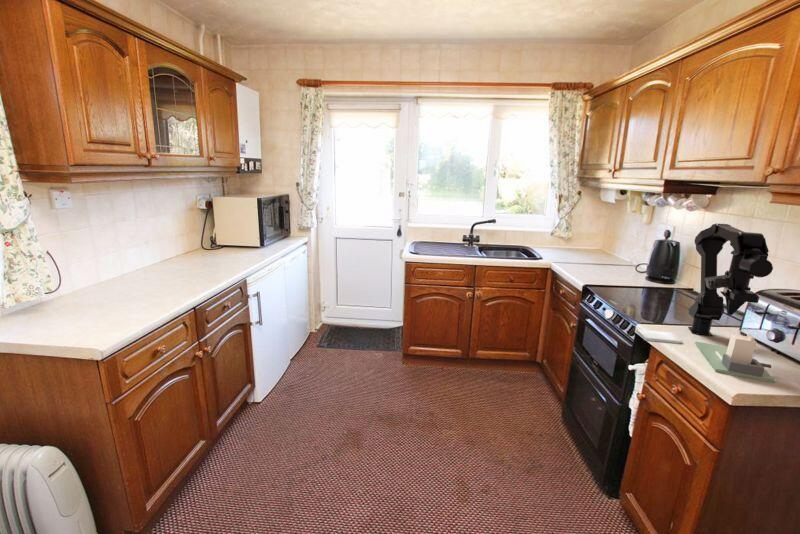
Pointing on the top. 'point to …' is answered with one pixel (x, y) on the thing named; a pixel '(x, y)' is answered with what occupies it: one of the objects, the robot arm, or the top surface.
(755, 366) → the header
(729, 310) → the robot arm
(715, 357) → the board
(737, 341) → the plug
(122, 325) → the top surface
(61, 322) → the top surface
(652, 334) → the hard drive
